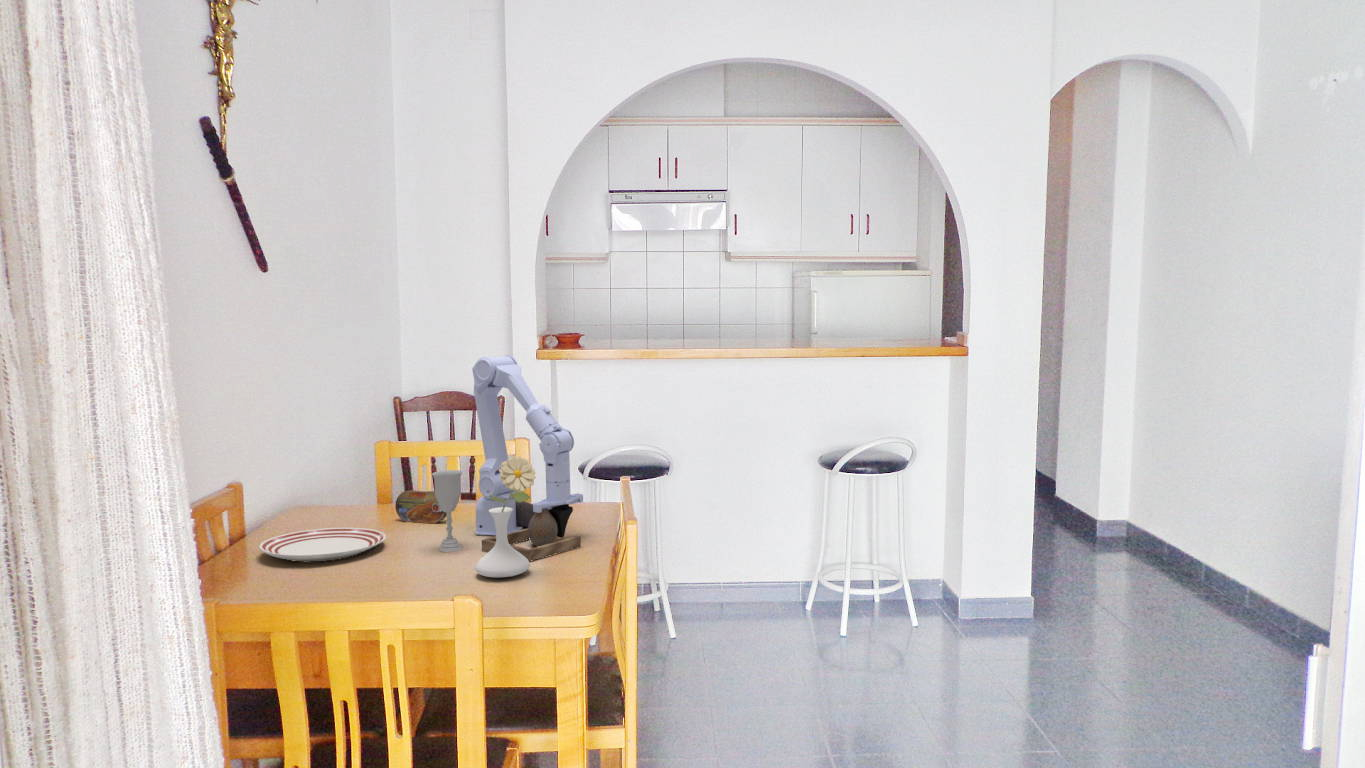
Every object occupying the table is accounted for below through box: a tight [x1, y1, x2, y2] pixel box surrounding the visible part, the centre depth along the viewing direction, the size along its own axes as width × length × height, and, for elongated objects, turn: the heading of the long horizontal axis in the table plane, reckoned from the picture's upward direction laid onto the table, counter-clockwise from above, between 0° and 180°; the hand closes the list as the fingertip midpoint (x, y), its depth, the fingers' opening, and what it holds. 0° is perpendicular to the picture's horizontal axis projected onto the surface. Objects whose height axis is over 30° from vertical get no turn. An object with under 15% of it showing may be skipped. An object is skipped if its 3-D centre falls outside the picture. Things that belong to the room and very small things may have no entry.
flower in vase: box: [474, 455, 536, 579], centre depth 192 cm, size 13×11×25 cm
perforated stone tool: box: [516, 501, 536, 529], centre depth 234 cm, size 15×5×7 cm, turn 60°
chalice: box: [431, 469, 463, 553], centre depth 213 cm, size 7×7×18 cm
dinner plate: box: [258, 527, 387, 562], centre depth 213 cm, size 28×27×3 cm
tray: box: [481, 528, 582, 561], centre depth 212 cm, size 16×16×2 cm
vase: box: [528, 508, 558, 547], centre depth 215 cm, size 7×7×9 cm
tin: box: [394, 490, 447, 524], centre depth 242 cm, size 15×3×8 cm, turn 73°
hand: (559, 536), depth 219 cm, fingers closed
